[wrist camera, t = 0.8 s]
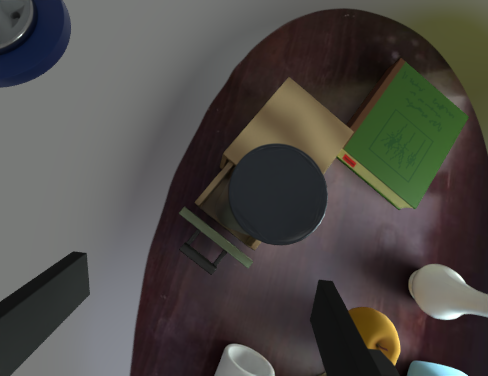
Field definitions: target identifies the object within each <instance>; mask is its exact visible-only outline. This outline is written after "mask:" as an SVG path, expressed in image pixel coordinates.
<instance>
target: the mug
mask: <svg viewBox="0 0 488 376" xmlns="http://www.w3.org/2000/svg"><path fill="white" fill-rule="evenodd" d="M214 376H275V373H274V370H273V368H272V366H271V364H270V363H269V362H268V361H267V360H266V359H265V358H264V357H263V356H262V355H261V354H259V353H258V352H256V351H255V350H253V349H251V348H249V347H247V346H244V345H240V344H229V345H227V346H226V347H225V349H224V352H223V355H222V357H221V360H220V362H219V365H218V368H217V370H216V373H215V375H214Z"/></svg>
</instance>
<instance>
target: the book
mask: <svg viewBox="0 0 488 376" xmlns="http://www.w3.org/2000/svg"><path fill="white" fill-rule="evenodd" d="M468 118H469V117H468V116H467V115H466V114H465V113H464V112H462V111H461V110H460V109H459V108H458V107H457V106H456V105H454V104H453V103H452V102H451V101H450V100H449V99H448V98H446V97H445V96H444V95H443V94H442V93H441V92H440V91H438V90H437V89H436V88H435V87H434V86H433V85H432V84H430V83H429V82H428V81H427V80H426V79H425V78H424V77H422V76H421V75H420V74H419V73H418V72H417V71H416V70H414V69H413V68H412V67H411V66H410V65H409V64H408V63H406V62H405V61H404V60H403V59H402V58H400V59H399V60H398V61H397V62H395V63H394V64H393V65H392V66H391V67H389V68H388V69H387V70H386V71H385V73H384V74H383V75H382V77H381V78H380V80H379V81H378V82H377V84H376V85H375V86H374V88H373V89H372V91H371V92H370V93H369V95H368V96H367V97H366V99H365V100H364V102H363V103H362V104H361V106H360V107H359V108H358V110H357V111H356V112H355V114H354V115H353V117H352V118H351V119H350V121H349V122H348V123H347V125H346V126H347V127H349V128H350V129H351V130H352V131H353V132H354V133H353V134H352V135H351V137H350V138H349V140H348V141H347V142H346V144H345V145H344V147H343V148H342V149H341V151H340V152H339V153H338V155H337V156H336V158H337V159H338V160H340V161H341V162H342V163H343V164H344V165H346V166H347V167H348V168H349V169H350V170H352V171H353V172H354V173H355V174H356V175H358V176H359V177H360V178H361V179H362V180H364V181H365V182H366V183H367V184H368V185H370V186H371V187H372V188H373V189H374V190H375V191H377V192H378V193H379V194H380V195H381V196H383V197H384V198H385V199H386V200H387V201H389V202H390V203H391V204H392V205H393V206H395V207H396V208H397V209H398V210H400V209H401V208H413V209H416V208H417V206H418V204H419V203H420V201H421V199H422V197H423V196H424V194H425V192H426V190H427V189H428V187H429V185H430V183H431V182H432V180H433V178H434V177H435V175H436V173H437V171H438V170H439V168H440V166H441V164H442V163H443V161H444V159H445V158H446V156H447V154H448V152H449V151H450V149H451V147H452V145H453V144H454V142H455V140H456V139H457V137H458V135H459V133H460V132H461V130H462V128H463V126H464V125H465V123H466V121H467V120H468Z"/></svg>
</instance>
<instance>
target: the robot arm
mask: <svg viewBox="0 0 488 376" xmlns="http://www.w3.org/2000/svg"><path fill="white" fill-rule="evenodd" d="M37 21H38V11H37V6H36V3H35V1H34V0H0V55H3V54H6V53H9V52H11V51H13V50H15V49H17V48H19V47H20V46H22V45H23V44H24V43H25V42H26V41H27V40H28V39H29V38H30V37H31V35H32V34H33V32H34V30H35V28H36V25H37ZM89 295H90V290H89V278H88V266H87V254H86V253H82V252H72V253H70V254H69V255H67V256H66V257H64V258H63V259H62V260H60V261H59V262H57V263H56V264H54V265H53V266H51V267H50V268H48V269H47V270H46V271H44V272H43V273H41V274H40V275H38V276H37V277H36V278H34V279H32V280H31V281H30V282H28V283H27V284H25V285H24V286H23V287H21V288H20V289H18V290H17V291H15V292H14V293H12V294H11V295H9V296H8V297H7V298H5V299H3V300H2V301H1V302H0V376H10V375H11V374H12V373H13V372H14V371H15V370H16V369H17V368H18V367H19V366H20V365H21V364H22V363H23V362H24V361H25V360H26V359H27V358H28V357H29V356H30V355H31V354H32V353H33V352H34V351H35V350H36V349H37V348H38V347H39V346H40V345H41V344H42V343H43V342H44V341H45V340H46V339H47V337H49V336H50V335H51V334H52V332H53V331H54V330H55V329H56V328H57V327H58V326H59V325H60V324H61V323H62V322H63V321H64V320H65V319H66V318H67V317H68V316H69V315H70V314H71V313H72V312H73V311H74V310H75V309H76V308H77V307H78V305H80V304H81V303H82V302H83V301H84V300H85V299H86V297H88V296H89ZM310 322H311V325H312V328H313V332H314V335H315V338H316V342H317V345H318V348H319V352H320V355H321V358H322V362H323V365H324V368H325V371H326V375H327V376H400V375H399V373H398V371H397V370H396V368H395V366H394V365H393V363H392V362H391V361H390V360H389V359H388V358H387V357H386V356H385V354H384V353H383V352H382V351H381V350H376V349H368V348H367V346H366V344H365V342H364V341H363V339H362V337H361V335H360V333H359V331H358V329H357V327H356V325H355V323H354V321H353V319H352V318H351V316H350V314H349V312H348V310H347V308H346V306H345V304H344V302H343V300H342V298H341V297H340V295H339V293H338V291H337V289H336V287H335V285H334V283H333V281H326V280H319V281H318V285H317V290H316V295H315V299H314V304H313V308H312V313H311V317H310Z"/></svg>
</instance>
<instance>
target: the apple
mask: <svg viewBox="0 0 488 376" xmlns="http://www.w3.org/2000/svg"><path fill="white" fill-rule="evenodd" d="M348 312H349V314H350V316H351V318H352V319H353V321H354V323H355V325H356V327H357V329H358V331H359V333H360V335H361V337H362V339H363V341H364V342H365V344H366V346H367V348H368V349H376V350H381V351H382V352H383V353H384V354H385V356H386V357H387V358H388V359H389V360H390V361H391V362H392V363H393V365H395V364H396V361H397V359H398V356H399V354H400V342H399V338H398V334H397V332H396V329H395V327H394V325H393V324H392V322H391V321H390V320H389V319H388V318H387V317H386V315H384V314H382V313H380V312H379V311H377V310H374V309H372V308H368V307H357V308H353V309H351V310H349V311H348Z"/></svg>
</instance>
